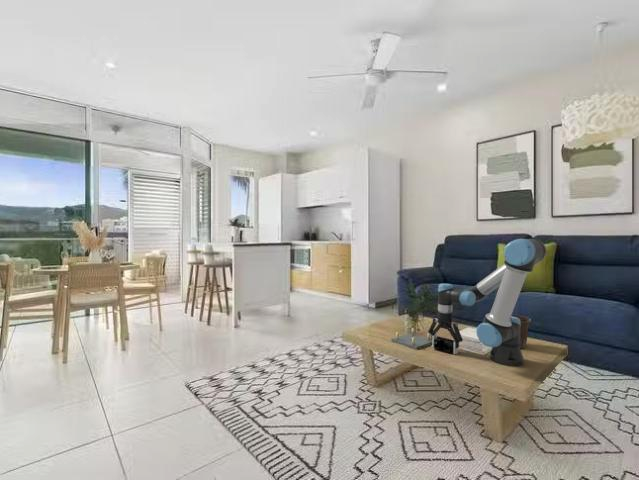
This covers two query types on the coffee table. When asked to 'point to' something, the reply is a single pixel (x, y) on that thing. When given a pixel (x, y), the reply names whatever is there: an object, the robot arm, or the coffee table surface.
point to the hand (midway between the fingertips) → (444, 350)
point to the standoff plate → (409, 342)
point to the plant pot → (523, 329)
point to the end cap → (444, 345)
